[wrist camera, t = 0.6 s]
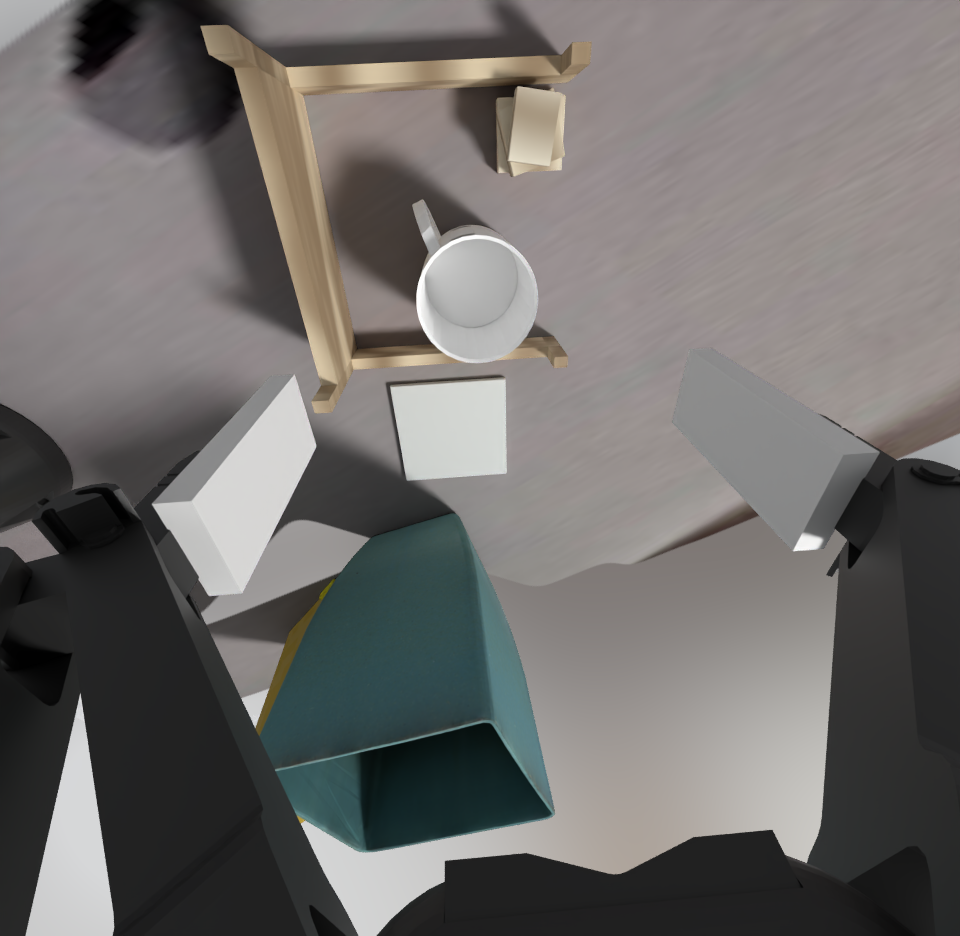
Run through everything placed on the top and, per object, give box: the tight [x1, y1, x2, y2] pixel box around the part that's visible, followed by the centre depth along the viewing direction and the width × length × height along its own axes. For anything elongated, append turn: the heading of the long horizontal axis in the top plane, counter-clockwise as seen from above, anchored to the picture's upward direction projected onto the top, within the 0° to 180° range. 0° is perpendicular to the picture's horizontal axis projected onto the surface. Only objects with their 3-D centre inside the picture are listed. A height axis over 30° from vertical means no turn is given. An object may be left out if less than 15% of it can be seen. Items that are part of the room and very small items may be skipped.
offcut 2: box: [496, 88, 565, 177], centre depth 31 cm, size 4×4×2 cm
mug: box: [412, 199, 538, 363], centre depth 34 cm, size 12×9×9 cm
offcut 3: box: [496, 95, 566, 173], centre depth 33 cm, size 5×4×2 cm
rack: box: [201, 25, 592, 413], centre depth 32 cm, size 21×21×12 cm
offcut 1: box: [507, 86, 562, 167], centre depth 30 cm, size 4×3×2 cm
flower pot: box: [259, 513, 555, 852], centre depth 46 cm, size 20×20×28 cm
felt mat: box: [390, 377, 506, 481], centre depth 47 cm, size 12×12×1 cm
